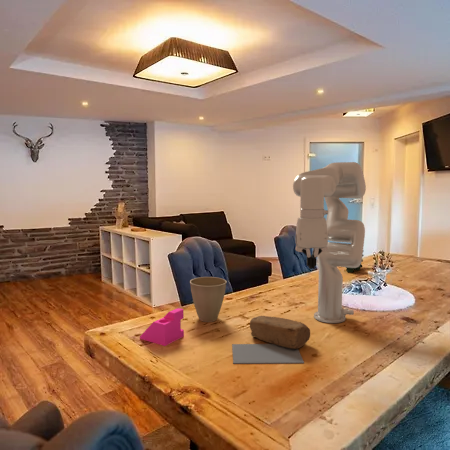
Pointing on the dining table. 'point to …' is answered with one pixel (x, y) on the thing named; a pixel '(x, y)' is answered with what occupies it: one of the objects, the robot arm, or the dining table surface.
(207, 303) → the plant pot
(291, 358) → the mat
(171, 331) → the bracket
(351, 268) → the toy figurine
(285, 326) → the block
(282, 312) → the dining table surface
